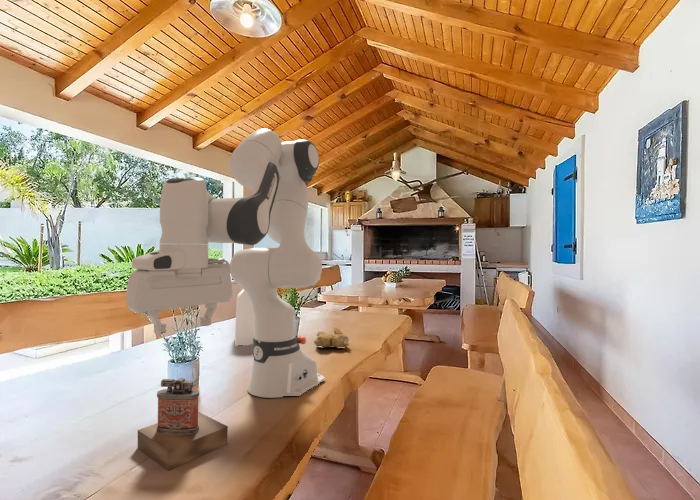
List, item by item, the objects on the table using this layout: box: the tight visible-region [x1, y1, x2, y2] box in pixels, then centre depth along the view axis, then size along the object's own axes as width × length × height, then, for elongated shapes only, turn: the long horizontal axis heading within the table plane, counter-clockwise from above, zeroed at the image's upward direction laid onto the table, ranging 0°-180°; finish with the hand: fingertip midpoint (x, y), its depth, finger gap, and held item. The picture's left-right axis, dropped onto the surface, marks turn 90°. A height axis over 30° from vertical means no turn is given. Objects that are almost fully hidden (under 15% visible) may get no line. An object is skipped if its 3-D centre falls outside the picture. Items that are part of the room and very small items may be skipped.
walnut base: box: [137, 411, 229, 471], centre depth 77 cm, size 12×12×4 cm
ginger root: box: [313, 327, 350, 348], centre depth 154 cm, size 16×16×8 cm
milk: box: [234, 288, 255, 347], centre depth 161 cm, size 12×12×26 cm
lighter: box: [156, 377, 200, 434], centre depth 76 cm, size 8×3×10 cm, turn 87°
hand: (183, 329), depth 77 cm, fingers open, 8 cm apart
